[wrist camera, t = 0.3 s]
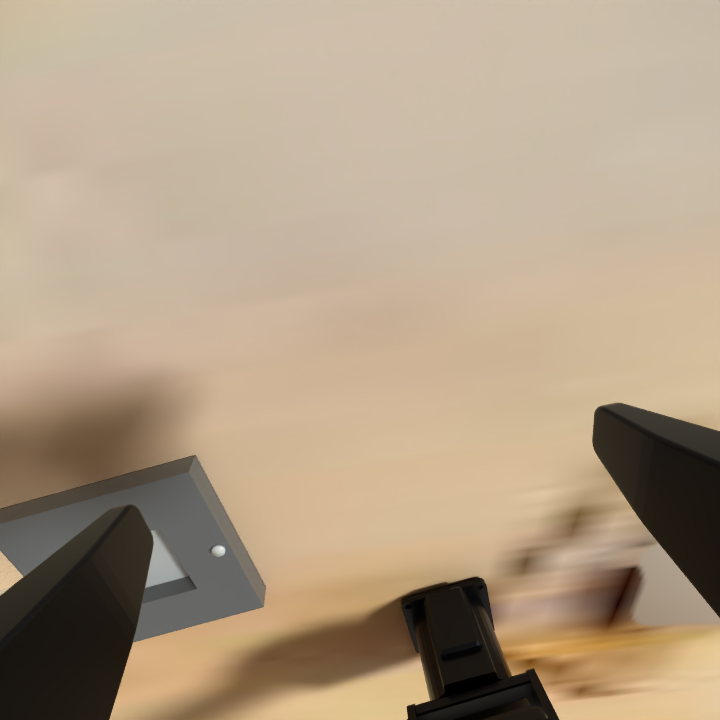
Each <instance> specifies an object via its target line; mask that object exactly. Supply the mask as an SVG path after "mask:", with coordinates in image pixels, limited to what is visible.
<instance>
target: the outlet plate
mask: <svg viewBox="0 0 720 720" xmlns="http://www.w3.org/2000/svg"><path fill="white" fill-rule="evenodd" d="M127 504H134V505H136V506H137V507H138V508H139V510H140V512H141V514H142V515H143V517H144V519H145V521H146V523H147V525H148V527H149V529H150V531H151V533H152V535H153V541H154V545H153V552H152V557H151V561H150V566H149V571H148V576H147V581H146V586H145V591H144V596H143V601H142V606H141V611H140V616H139V620H138V625H137V629H136V633H135V636H134V640H133V642H136V641H140V640H144V639H148V638H151V637H155V636H159V635H162V634H166V633H170V632H173V631H177V630H181V629H184V628H188V627H192V626H195V625H199V624H203V623H207V622H210V621H214V620H218V619H221V618H225V617H229V616H232V615H236V614H240V613H243V612H247V611H251V610H254V609H258V608H262V607H264V599H265V590H266V586H265V584H264V582H263V580H262V579H261V577H260V575H259V573H258V571H257V569H256V567H255V565H254V564H253V562H252V560H251V558H250V556H249V554H248V552H247V551H246V549H245V547H244V545H243V543H242V541H241V539H240V537H239V536H238V534H237V532H236V530H235V528H234V526H233V524H232V522H231V521H230V519H229V517H228V515H227V513H226V511H225V509H224V507H223V506H222V504H221V502H220V500H219V498H218V496H217V494H216V492H215V491H214V489H213V487H212V485H211V483H210V481H209V479H208V477H207V476H206V474H205V472H204V470H203V468H202V466H201V464H200V462H199V461H198V459H197V457H196V455H194V456H191V457H187V458H184V459H180V460H176V461H173V462H169V463H165V464H162V465H158V466H155V467H151V468H147V469H144V470H140V471H136V472H133V473H129V474H126V475H122V476H118V477H115V478H111V479H107V480H104V481H100V482H97V483H93V484H89V485H86V486H82V487H78V488H75V489H71V490H68V491H64V492H60V493H57V494H53V495H49V496H46V497H42V498H38V499H35V500H31V501H28V502H24V503H20V504H17V505H13V506H9V507H6V508H2V509H0V551H1V552H2V553H3V554H4V555H5V556H6V557H7V558H8V560H9V561H10V562H11V563H12V564H13V565H14V566H15V567H16V568H17V570H18V571H19V572H20V573H21V574H22V575H23V576H26V575H27V574H28V573H29V572H31V571H32V570H33V569H34V568H36V567H37V566H38V565H39V564H41V563H42V562H43V561H44V560H46V559H47V558H48V557H49V556H51V555H52V554H53V553H54V552H56V551H57V550H58V549H60V548H61V547H62V546H63V545H65V544H66V543H67V542H68V541H70V540H71V539H72V538H73V537H75V536H76V535H77V534H78V533H80V532H81V531H82V530H83V529H85V528H86V527H87V526H88V525H90V524H91V523H92V522H93V521H95V520H96V519H97V518H99V517H100V516H101V515H102V514H104V513H105V512H106V511H107V510H109V509H110V508H113V507H117V506H122V505H127Z"/></svg>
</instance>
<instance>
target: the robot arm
mask: <svg viewBox="0 0 720 720" xmlns="http://www.w3.org/2000/svg"><path fill="white" fill-rule="evenodd" d="M592 443H593V447H594V450H595V453H596V454H597V456H598V457H599V459H600V460H601V462H602V463H603V465H604V466H605V468H606V469H607V471H608V472H609V474H610V475H611V477H612V478H613V480H614V482H615V483H616V485H617V486H618V488H619V489H620V491H621V492H622V494H623V495H624V497H625V498H626V500H627V501H628V503H629V504H630V506H631V507H632V509H633V510H634V512H635V513H636V514H637V516H638V517H639V519H640V520H641V521H642V523H643V524H644V525H645V526H646V528H647V529H648V530H649V532H650V533H651V534H652V535H653V537H654V538H655V539H656V540H657V541H658V543H659V544H660V545H661V546H662V548H663V549H664V550H665V551H666V552H667V554H668V555H669V556H670V557H671V559H672V560H673V561H674V562H675V564H676V565H677V566H678V567H679V568H680V570H681V571H682V572H683V573H684V575H685V576H686V577H687V578H688V579H689V581H690V582H691V583H692V584H693V585H694V587H695V588H696V589H697V591H698V592H699V593H700V594H701V595H702V597H703V598H704V599H705V600H706V602H707V603H708V604H709V605H710V606H711V608H712V609H713V610H714V611H715V613H717V615H718V616H719V617H720V431H717V430H713V429H710V428H706V427H703V426H700V425H696V424H693V423H689V422H686V421H682V420H679V419H675V418H672V417H668V416H665V415H661V414H658V413H654V412H651V411H647V410H644V409H640V408H637V407H633V406H630V405H626V404H623V403H613V404H608V405H603V406H599V407H598V408H597V409H596V410H595V414H594V425H593V439H592ZM153 545H154V541H153V535H152V533H151V531H150V529H149V527H148V525H147V523H146V521H145V519H144V517H143V515H142V514H141V512H140V510H139V508H138V507H137V506H136V505H134V504H127V505H122V506H117V507H113V508H110V509H109V510H107V511H106V512H105V513H104V514H102V515H101V516H100V517H99V518H97V519H96V520H95V521H93V522H92V523H91V524H90V525H88V526H87V527H86V528H85V529H83V530H82V531H81V532H80V533H78V534H77V535H76V536H75V537H73V538H72V539H71V540H70V541H68V542H67V543H66V544H65V545H63V546H62V547H61V548H60V549H58V550H57V551H56V552H54V553H53V554H52V555H51V556H49V557H48V558H47V559H46V560H44V561H43V562H42V563H41V564H39V565H38V566H37V567H36V568H34V569H33V570H32V571H31V572H29V573H28V574H27V575H26V576H24V577H23V578H22V579H21V580H19V581H18V582H17V583H15V584H14V585H13V586H12V587H10V588H9V589H8V590H7V591H5V592H4V593H3V594H2V595H0V720H109V719H110V716H111V712H112V709H113V706H114V702H115V699H116V696H117V693H118V689H119V686H120V683H121V679H122V676H123V673H124V670H125V666H126V663H127V660H128V656H129V653H130V650H131V647H132V643H133V640H134V636H135V633H136V629H137V625H138V620H139V616H140V611H141V606H142V601H143V596H144V591H145V586H146V581H147V576H148V571H149V566H150V561H151V557H152V552H153ZM401 606H402V610H403V613H404V616H405V619H406V622H407V625H408V628H409V631H410V634H411V637H412V640H413V643H414V646H415V649H416V652H417V653H420V657H421V662H422V666H423V671H424V675H425V680H426V684H427V689H428V693H429V698H430V701H428V702H425V703H422V704H418V705H415V704H412V705H409V706H407V713H408V719H407V720H559V718H558V716H557V714H556V712H555V710H554V708H553V706H552V704H551V702H550V700H549V698H548V696H547V694H546V692H545V690H544V688H543V686H542V684H541V682H540V680H539V678H538V676H537V674H536V672H535V670H534V668H532V669H529V670H526V672H525V673H522V674H519V675H515V676H512V675H511V672H510V670H509V667H508V665H507V662H506V660H505V657H504V655H503V652H502V650H501V647H500V645H499V642H498V640H497V637H496V635H495V632H494V625H493V619H492V614H491V608H490V603H489V597H488V592H487V586H486V584H485V581H484V579H482V578H477V579H473V580H469V581H466V582H462V583H458V584H455V585H451V586H447V587H444V588H440V589H436V590H433V591H429V592H425V593H421V594H418V595H414V596H410V597H407V598H404V599H403V600H402V601H401Z"/></svg>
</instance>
